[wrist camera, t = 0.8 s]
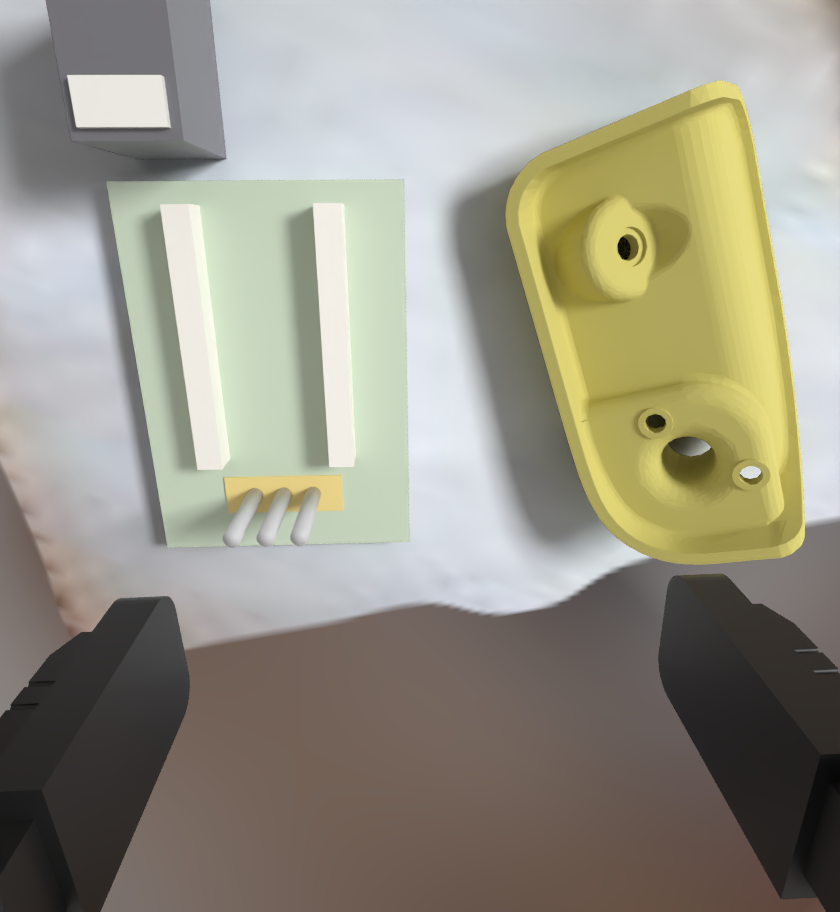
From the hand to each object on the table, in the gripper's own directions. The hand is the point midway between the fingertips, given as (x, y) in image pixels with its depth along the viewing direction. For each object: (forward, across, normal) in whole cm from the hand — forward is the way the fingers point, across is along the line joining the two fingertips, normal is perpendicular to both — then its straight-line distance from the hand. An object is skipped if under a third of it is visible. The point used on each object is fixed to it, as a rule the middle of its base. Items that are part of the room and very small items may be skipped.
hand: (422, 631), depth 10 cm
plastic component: (+23, -12, 0) cm, 26 cm away
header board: (+22, +6, +1) cm, 23 cm away
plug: (+23, +10, -12) cm, 28 cm away
